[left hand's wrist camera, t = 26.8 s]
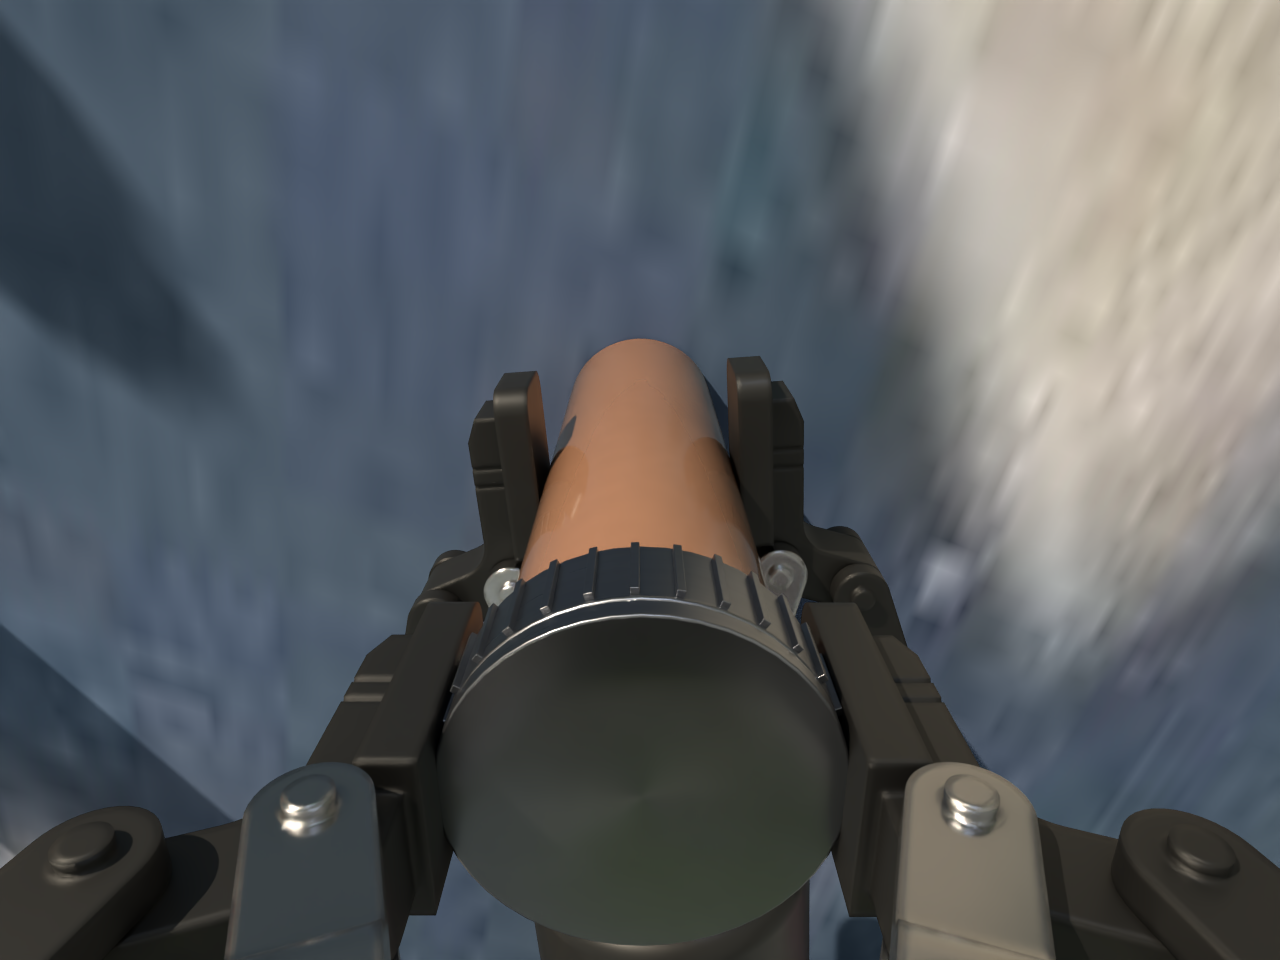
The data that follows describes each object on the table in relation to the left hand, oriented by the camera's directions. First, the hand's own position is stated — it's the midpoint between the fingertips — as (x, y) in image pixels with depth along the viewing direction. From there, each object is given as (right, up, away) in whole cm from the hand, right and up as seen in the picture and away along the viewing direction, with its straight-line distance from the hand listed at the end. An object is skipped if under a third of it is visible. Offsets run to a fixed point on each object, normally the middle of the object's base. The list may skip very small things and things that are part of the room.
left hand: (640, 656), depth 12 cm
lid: (0, -1, -2) cm, 3 cm away
